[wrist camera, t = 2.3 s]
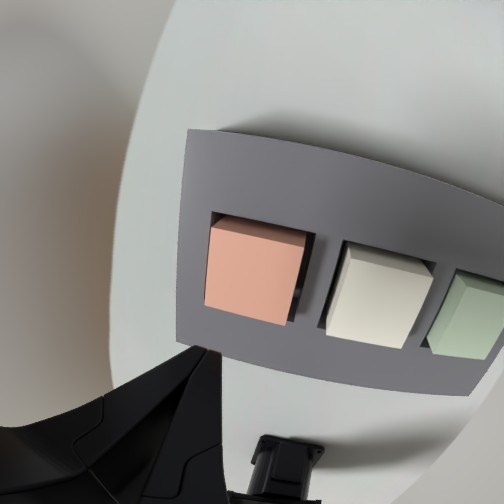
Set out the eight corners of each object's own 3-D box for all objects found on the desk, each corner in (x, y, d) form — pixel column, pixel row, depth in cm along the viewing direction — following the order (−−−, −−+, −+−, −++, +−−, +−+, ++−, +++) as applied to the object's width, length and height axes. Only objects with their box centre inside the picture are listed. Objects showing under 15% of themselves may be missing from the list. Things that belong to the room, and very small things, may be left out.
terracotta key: (290, 299, 16) (284, 325, 14) (220, 282, 16) (204, 305, 14) (307, 229, 14) (303, 247, 12) (228, 213, 15) (211, 227, 13)
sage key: (471, 334, 14) (484, 359, 12) (421, 326, 15) (432, 353, 12) (498, 278, 12) (517, 299, 10) (448, 264, 13) (466, 286, 11)
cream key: (392, 321, 15) (401, 348, 13) (326, 307, 15) (326, 334, 13) (418, 256, 13) (433, 278, 11) (346, 238, 14) (351, 258, 12)
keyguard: (455, 364, 17) (468, 396, 14) (197, 311, 20) (176, 341, 17) (522, 214, 12) (553, 231, 9) (214, 130, 15) (187, 129, 12)
